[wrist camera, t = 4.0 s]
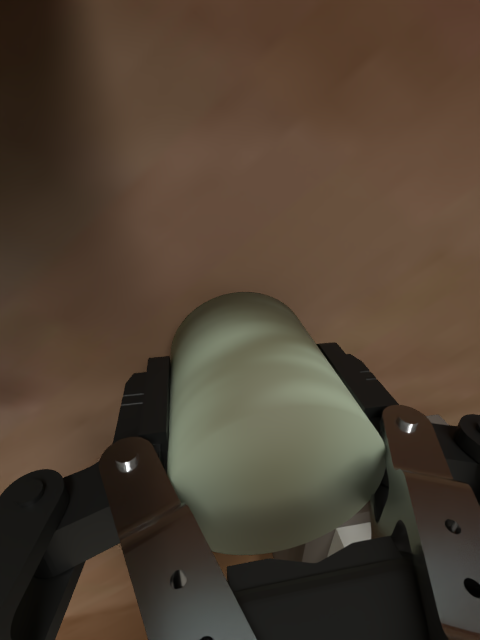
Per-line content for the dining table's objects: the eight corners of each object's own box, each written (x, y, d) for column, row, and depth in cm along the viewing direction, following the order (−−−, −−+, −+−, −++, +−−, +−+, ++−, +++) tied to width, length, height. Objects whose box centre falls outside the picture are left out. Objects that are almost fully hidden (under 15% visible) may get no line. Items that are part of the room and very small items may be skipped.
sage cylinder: (312, 288, 12) (411, 393, 7) (297, 398, 15) (363, 535, 10) (163, 296, 11) (152, 423, 6) (176, 412, 14) (176, 570, 9)
